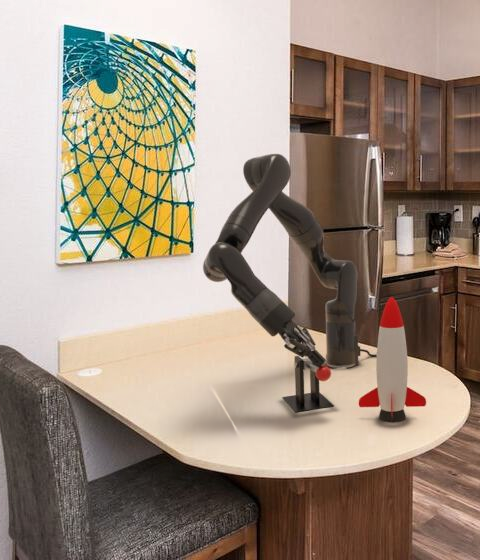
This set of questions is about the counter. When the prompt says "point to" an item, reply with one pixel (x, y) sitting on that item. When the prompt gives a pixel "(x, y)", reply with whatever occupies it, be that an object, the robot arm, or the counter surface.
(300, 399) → the bracket
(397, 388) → the toy rocket
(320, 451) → the counter surface
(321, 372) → the lever
